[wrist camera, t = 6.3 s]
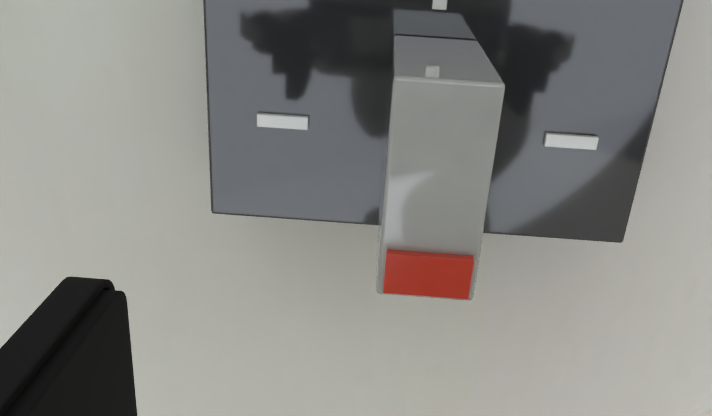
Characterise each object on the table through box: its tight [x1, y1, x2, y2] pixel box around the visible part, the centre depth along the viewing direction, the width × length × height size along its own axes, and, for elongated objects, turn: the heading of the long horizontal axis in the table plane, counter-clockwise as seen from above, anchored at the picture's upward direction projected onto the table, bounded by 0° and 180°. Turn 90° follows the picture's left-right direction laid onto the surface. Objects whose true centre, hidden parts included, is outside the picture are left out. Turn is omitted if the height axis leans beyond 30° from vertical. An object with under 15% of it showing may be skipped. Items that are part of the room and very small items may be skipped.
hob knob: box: [376, 35, 505, 300], centre depth 16 cm, size 5×2×5 cm, turn 177°
